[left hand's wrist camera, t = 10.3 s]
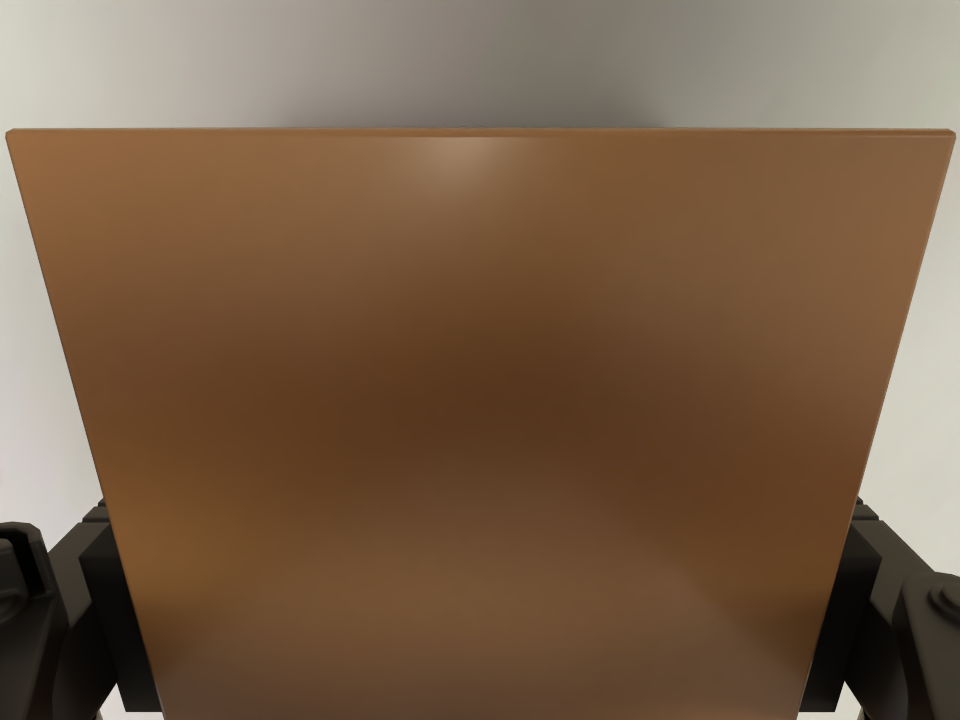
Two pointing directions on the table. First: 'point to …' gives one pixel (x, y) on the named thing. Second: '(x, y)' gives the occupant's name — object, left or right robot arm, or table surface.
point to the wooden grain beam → (480, 403)
